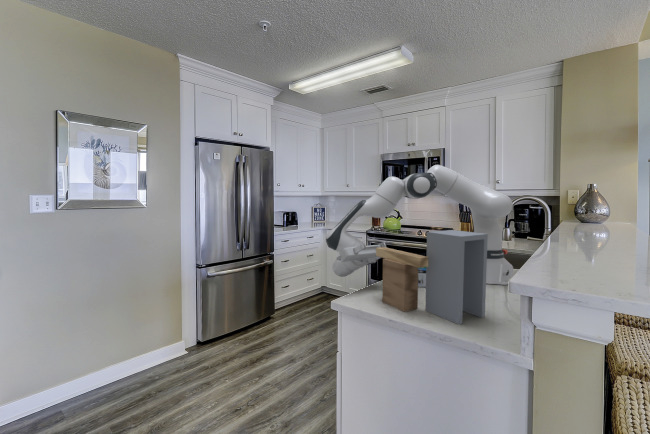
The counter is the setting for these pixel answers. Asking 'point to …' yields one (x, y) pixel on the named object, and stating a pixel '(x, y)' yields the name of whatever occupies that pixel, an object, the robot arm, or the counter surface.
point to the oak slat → (402, 257)
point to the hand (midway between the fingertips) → (374, 245)
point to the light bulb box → (422, 277)
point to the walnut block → (400, 285)
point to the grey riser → (456, 274)
